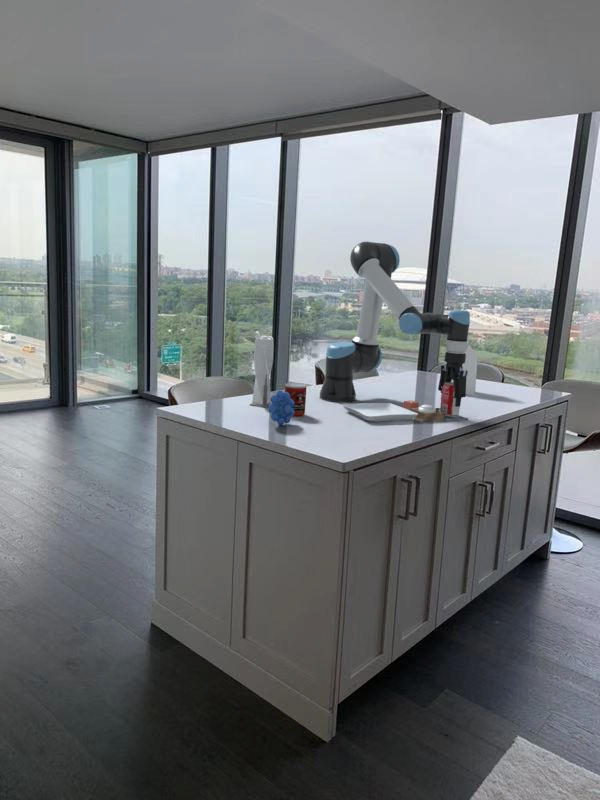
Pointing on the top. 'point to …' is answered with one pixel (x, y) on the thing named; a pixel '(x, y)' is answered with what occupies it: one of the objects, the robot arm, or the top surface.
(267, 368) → the skyscraper
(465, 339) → the robot arm
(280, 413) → the grapes
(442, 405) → the soda can
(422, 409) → the dome
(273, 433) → the top surface
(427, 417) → the base
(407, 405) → the die
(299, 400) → the canned food
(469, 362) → the milk
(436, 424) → the top surface
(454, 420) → the track
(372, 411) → the salad plate
